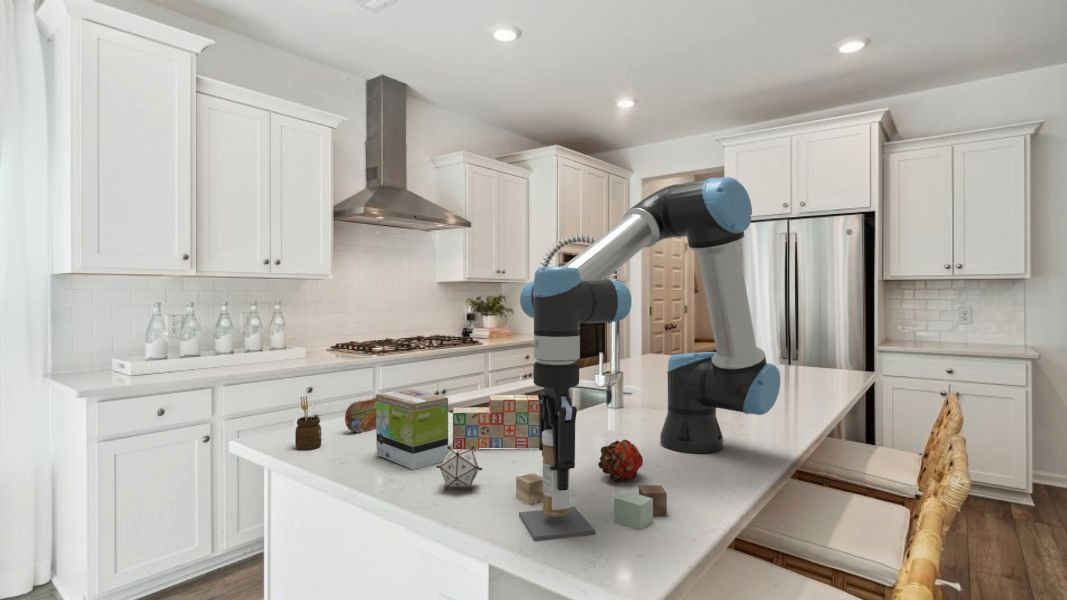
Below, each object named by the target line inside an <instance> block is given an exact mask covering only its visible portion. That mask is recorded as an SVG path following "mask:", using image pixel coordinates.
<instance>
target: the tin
mask: <svg viewBox="0 0 1067 600" xmlns="http://www.w3.org/2000/svg"><path fill="white" fill-rule="evenodd" d="M344 422H345V425H346V428H347V429H348V430H350V431H351V432H353V433H359V434H362V433H367V432H370V431H372V430H373V431H374V430H376V397H373V398H367V399H364V400H359V401H355V402H353V403H350V405H349V406H348V407H347V409H346V410H345V414H344Z"/></svg>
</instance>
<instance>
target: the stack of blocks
mask: <svg viewBox="0 0 1067 600" xmlns="http://www.w3.org/2000/svg"><path fill="white" fill-rule="evenodd" d="M452 411H453V412H452V449H471V448H472V447H473V446H474V449H479V448H539V399H538V395H535V394H534V395H528V394H527V395H526V394H514V395H513V394H508V395H507V394H504V395H503V394H502V395H500V394H499V395H498V394H497V395H496V394H495V395H494V394H493V395H492V394H491V395H489V406H487V407H486V406H485V407H483V406H482V407H475V406H474V407H453V410H452Z"/></svg>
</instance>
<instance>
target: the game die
mask: <svg viewBox="0 0 1067 600" xmlns="http://www.w3.org/2000/svg"><path fill="white" fill-rule="evenodd" d="M473 449H474V446H473V447H472V448H471V449H453V448H451V446H450V445H448V453H447V455H446V456H445V458H444V460H443V462H440V465H436V466H435V468H436V469H440V472H441V474H442V477H443V480H444V482H445V485H446V486H445V488H444V491H447V490H448V488H469V491H471V492H472V491H473V487H472V485H473V482H474V481H475V479H476V477H477V474H479V471H482V470H483V467H481V466H479V463H478V461H477V459H476V456H475V454H474V450H473Z"/></svg>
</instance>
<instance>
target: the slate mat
mask: <svg viewBox="0 0 1067 600" xmlns="http://www.w3.org/2000/svg"><path fill="white" fill-rule="evenodd" d="M569 510H570V511H569V513H568V514H567V515H565V516H561V517H552V516H548V515H545V514H544V513H543V511H542V509H537V510H529V511H519V512H518V516H519V518H520V520H521V521H522V523H523V525H524V527H525V528H526V529H527V531H528V533H529V534H530V536H531V538H532V539H533V541H534V542H535V541H536V542H537V541H546V540H552V539H561V538H563V539H564V538H569V537H577V536H578V537H579V536H580V537H581V536H587V535H595V534H596V529H595V527H593V526H592V525H591V523H590V522H589V521H588V520H587V519H586V518H585V517H584V515H583V514H582V512H580V511H579V510H578V509H577V508H576V506H569Z"/></svg>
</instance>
